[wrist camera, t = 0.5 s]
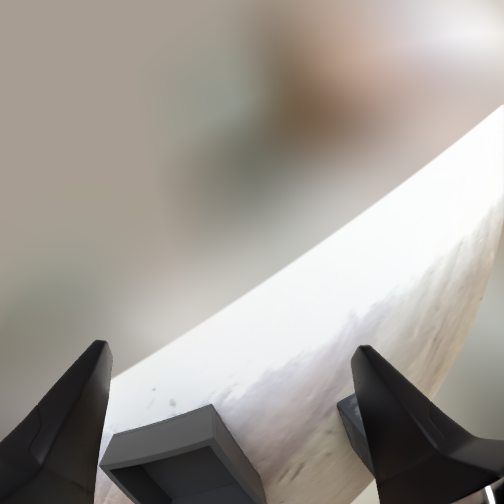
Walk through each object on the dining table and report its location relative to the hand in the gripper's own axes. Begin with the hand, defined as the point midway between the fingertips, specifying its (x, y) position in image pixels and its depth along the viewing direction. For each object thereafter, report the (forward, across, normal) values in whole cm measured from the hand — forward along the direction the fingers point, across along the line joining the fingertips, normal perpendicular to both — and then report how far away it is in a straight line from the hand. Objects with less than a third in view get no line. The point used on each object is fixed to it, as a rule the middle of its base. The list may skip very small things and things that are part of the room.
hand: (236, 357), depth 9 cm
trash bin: (+3, +3, +23) cm, 24 cm away
